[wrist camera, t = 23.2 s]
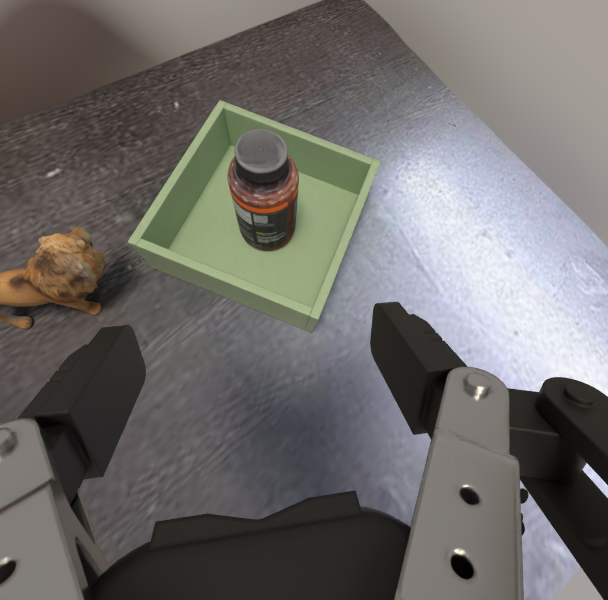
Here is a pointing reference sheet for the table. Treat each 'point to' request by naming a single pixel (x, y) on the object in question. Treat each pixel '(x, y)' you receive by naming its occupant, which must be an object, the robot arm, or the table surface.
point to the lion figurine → (54, 276)
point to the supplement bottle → (264, 189)
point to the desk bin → (225, 230)
